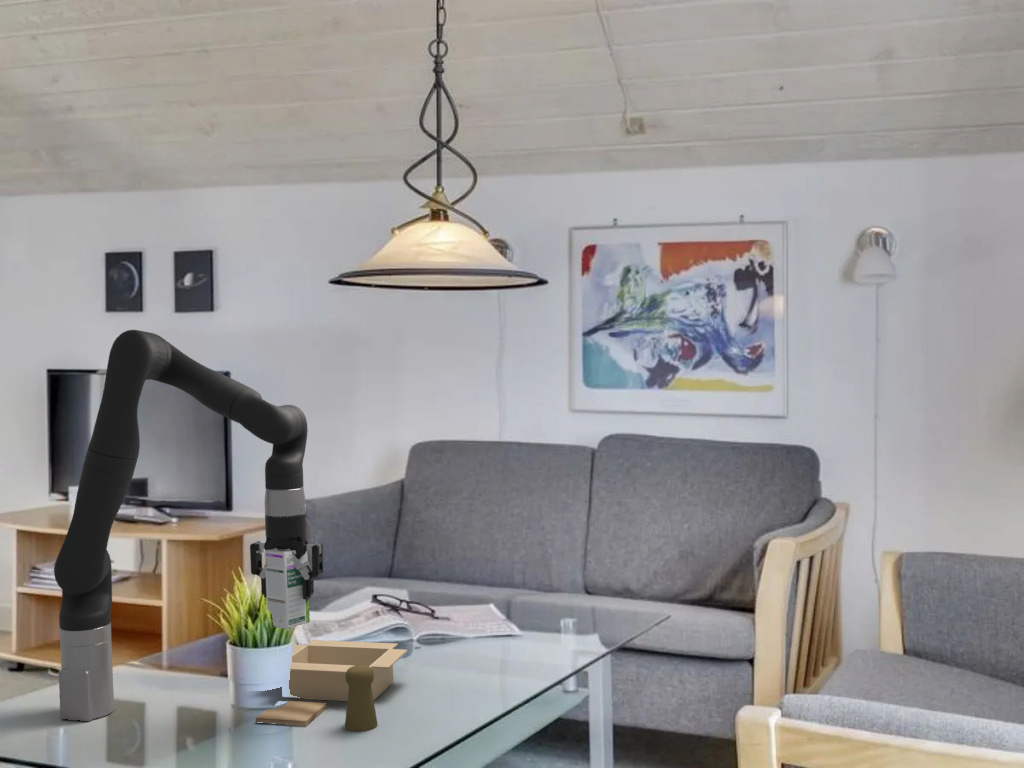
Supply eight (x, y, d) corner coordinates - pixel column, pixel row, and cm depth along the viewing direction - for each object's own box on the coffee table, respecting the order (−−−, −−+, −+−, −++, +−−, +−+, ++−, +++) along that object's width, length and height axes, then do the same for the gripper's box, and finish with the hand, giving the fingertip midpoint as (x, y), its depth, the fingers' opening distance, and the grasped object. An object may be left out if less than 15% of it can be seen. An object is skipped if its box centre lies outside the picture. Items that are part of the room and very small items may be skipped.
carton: (414, 677, 230) (413, 644, 230) (382, 709, 211) (381, 673, 210) (299, 671, 236) (298, 639, 236) (257, 702, 216) (256, 667, 216)
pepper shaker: (347, 720, 205) (346, 662, 205) (379, 719, 205) (378, 661, 204) (341, 731, 199) (340, 671, 199) (374, 731, 199) (373, 671, 198)
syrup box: (287, 629, 203) (285, 552, 203) (266, 625, 207) (264, 548, 206) (310, 623, 208) (308, 547, 207) (289, 618, 212) (287, 543, 211)
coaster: (306, 726, 202) (305, 721, 202) (255, 723, 204) (255, 718, 204) (326, 708, 212) (326, 702, 212) (278, 705, 214) (278, 700, 214)
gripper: (241, 514, 204) (243, 601, 205) (312, 515, 201) (315, 604, 202) (259, 507, 212) (261, 592, 213) (328, 508, 209) (331, 594, 209)
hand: (287, 597), depth 207 cm, fingers closed on syrup box, 7 cm apart
